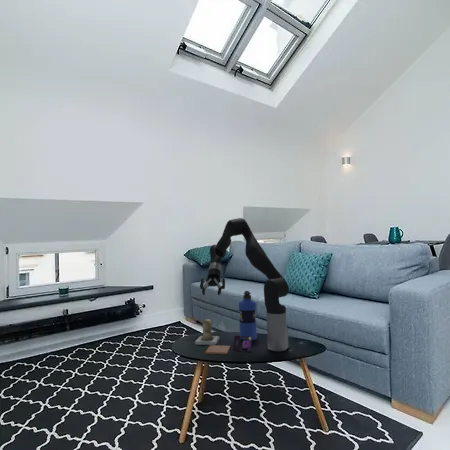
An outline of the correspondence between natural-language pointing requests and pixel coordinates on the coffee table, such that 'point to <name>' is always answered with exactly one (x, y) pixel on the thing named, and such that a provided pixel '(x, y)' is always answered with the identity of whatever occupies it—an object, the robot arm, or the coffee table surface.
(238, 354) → the coffee table surface
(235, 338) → the purple toy figure
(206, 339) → the birch peg
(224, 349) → the terracotta tile
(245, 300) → the water bottle
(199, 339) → the pocket block
